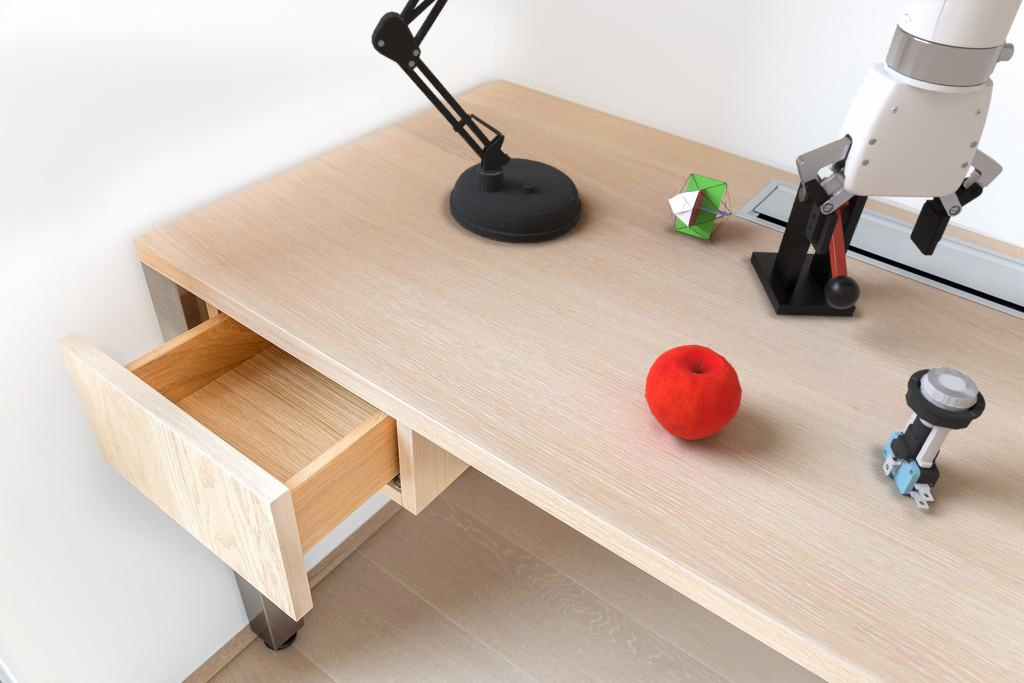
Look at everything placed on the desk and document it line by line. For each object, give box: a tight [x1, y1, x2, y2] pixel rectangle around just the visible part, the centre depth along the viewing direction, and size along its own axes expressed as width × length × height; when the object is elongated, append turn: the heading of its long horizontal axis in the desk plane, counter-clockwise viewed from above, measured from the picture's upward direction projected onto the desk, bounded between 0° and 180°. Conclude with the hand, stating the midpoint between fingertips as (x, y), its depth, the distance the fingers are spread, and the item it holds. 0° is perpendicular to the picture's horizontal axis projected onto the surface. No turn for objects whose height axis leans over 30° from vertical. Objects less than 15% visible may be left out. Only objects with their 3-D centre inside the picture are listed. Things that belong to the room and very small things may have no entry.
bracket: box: [749, 174, 869, 317], centre depth 81 cm, size 10×8×13 cm
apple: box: [644, 344, 743, 441], centre depth 65 cm, size 8×8×7 cm
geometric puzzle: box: [667, 172, 733, 242], centre depth 91 cm, size 7×7×8 cm
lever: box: [821, 176, 861, 309], centre depth 77 cm, size 13×3×3 cm
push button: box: [882, 366, 987, 510], centre depth 61 cm, size 7×5×10 cm
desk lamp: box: [371, 0, 582, 244], centre depth 81 cm, size 24×26×45 cm
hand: (868, 246), depth 72 cm, fingers open, 9 cm apart
